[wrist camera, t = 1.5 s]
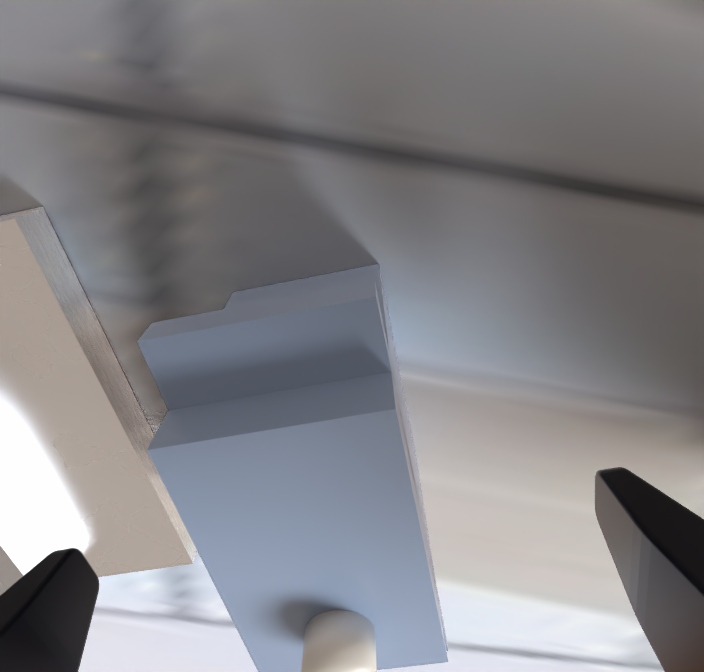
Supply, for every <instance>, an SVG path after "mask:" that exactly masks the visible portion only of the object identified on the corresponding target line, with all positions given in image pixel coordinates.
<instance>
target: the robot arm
mask: <svg viewBox="0 0 704 672" xmlns="http://www.w3.org/2000/svg"><path fill="white" fill-rule="evenodd" d="M595 512H596V516H597V520H598V522H599V525H600V528H601V530H602V533H603V535H604V538H605V540H606V543H607V545H608V548H609V550H610V553H611V555H612V558H613V560H614V563H615V565H616V568H617V570H618V573H619V575H620V578H621V580H622V583H623V585H624V588H625V590H626V593H627V595H628V598H629V600H630V603H631V605H632V608H633V610H634V612H635V615H636V617H637V619H638V621H639V623H640V625H641V627H642V629H643V631H644V633H645V635H646V637H647V639H648V641H649V642H650V644H651V646H652V648H653V650H654V652H655V654H656V656H657V658H658V660H659V661H660V663H661V665H662V667H663V669H664V671H665V672H704V519H702V518H701V517H699V516H698V515H696V514H695V513H693V512H692V511H690V510H689V509H687V508H686V507H684V506H682V505H681V504H679V503H678V502H676V501H675V500H673V499H672V498H670V497H669V496H667V495H666V494H664V493H663V492H661V491H660V490H658V489H656V488H655V487H653V486H652V485H650V484H649V483H647V482H646V481H644V480H643V479H641V478H640V477H638V476H637V475H635V474H634V473H632V472H631V471H629V470H627V469H625V468H622V467H618V468H611V469H604V470H600V471H598V472H597V473H596V476H595ZM98 591H99V580H98V576H97V574H96V573H95V571H94V570H93V568H92V567H91V565H90V564H89V562H88V561H87V559H86V558H85V556H84V555H83V553H82V552H81V551H80V550H79V549H77V548H68V549H61V550H56V551H53V552H51V553H50V554H49V555H47V556H46V557H45V558H44V559H43V560H41V561H40V562H39V563H38V564H37V565H36V566H34V567H33V568H32V569H31V570H30V571H28V572H27V573H26V574H25V575H24V576H23V577H21V578H20V579H19V580H18V581H17V582H16V583H14V584H13V585H12V586H11V587H10V588H8V589H7V590H6V591H5V592H4V593H3V594H1V595H0V672H78V670H79V666H80V662H81V658H82V654H83V650H84V646H85V643H86V639H87V635H88V631H89V627H90V623H91V619H92V615H93V611H94V607H95V603H96V599H97V595H98Z"/></svg>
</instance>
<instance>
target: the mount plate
mask: <svg viewBox="0 0 704 672" xmlns="http://www.w3.org/2000/svg"><path fill="white" fill-rule="evenodd" d="M153 438H154V434H153V432H152V430H151V428H150V426H149V424H148V422H147V420H146V418H145V416H144V414H143V412H142V409H141V407H140V405H139V403H138V401H137V399H136V397H135V395H134V393H133V391H132V389H131V387H130V385H129V383H128V381H127V379H126V377H125V375H124V373H123V370H122V368H121V366H120V364H119V362H118V360H117V358H116V356H115V354H114V352H113V350H112V348H111V346H110V344H109V342H108V340H107V338H106V336H105V333H104V331H103V329H102V327H101V325H100V323H99V321H98V319H97V317H96V315H95V313H94V311H93V309H92V307H91V305H90V303H89V301H88V299H87V296H86V294H85V292H84V290H83V288H82V286H81V284H80V282H79V280H78V278H77V276H76V274H75V272H74V270H73V268H72V266H71V264H70V262H69V260H68V257H67V255H66V253H65V251H64V249H63V247H62V245H61V243H60V241H59V239H58V237H57V235H56V233H55V231H54V229H53V227H52V225H51V223H50V220H49V218H48V216H47V214H46V212H45V210H44V208H43V206H42V207H38V208H33V209H29V210H24V211H20V212H15V213H11V214H6V215H2V216H0V595H1V594H3V593H4V592H5V591H6V590H7V589H8V588H10V587H11V586H12V585H13V584H14V583H16V582H17V581H18V580H19V579H20V578H21V577H23V576H24V575H25V574H26V573H27V572H28V571H30V570H31V569H32V568H33V567H34V566H36V565H37V564H38V563H39V562H40V561H41V560H43V559H44V558H45V557H46V556H47V555H49V554H50V553H51V552H53V551H56V550H61V549H68V548H77V549H79V550H80V551H81V552H82V553H83V555H84V556H85V558H86V559H87V561H88V562H89V564H90V565H91V567H92V568H93V570H94V571H95V573H96V574H97V576H98V577H102V576H109V575H116V574H123V573H130V572H137V571H144V570H151V569H158V568H165V567H172V566H179V565H186V564H193V563H194V559H195V556H196V553H197V549H196V547H195V545H194V543H193V541H192V539H191V537H190V535H189V533H188V531H187V529H186V527H185V525H184V523H183V521H182V519H181V517H180V515H179V513H178V511H177V509H176V507H175V505H174V503H173V501H172V499H171V497H170V495H169V493H168V491H167V489H166V487H165V485H164V483H163V481H162V479H161V477H160V475H159V473H158V471H157V469H156V467H155V465H154V463H153V461H152V459H151V457H150V456H149V454H148V452H147V449H148V447H149V445H150V443H151V442H152V440H153Z"/></svg>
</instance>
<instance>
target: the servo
mask: <svg viewBox="0 0 704 672" xmlns="http://www.w3.org/2000/svg"><path fill="white" fill-rule="evenodd" d="M137 343H138V345H139V348H140V350H141V352H142V354H143V356H144V358H145V361H146V363H147V365H148V367H149V369H150V372H151V374H152V376H153V378H154V380H155V382H156V385H157V387H158V389H159V391H160V393H161V396H162V398H163V400H164V402H165V404H166V406H167V409H168V412H167V414H166V416H165V418H164V419H163V421H162V423H161V425H160V427H159V429H158V431H157V432H156V434H155V436H154V438H153V440H152V442H151V443H150V445H149V447H148V449H147V452H148V454H149V456H150V457H151V459H152V461H153V463H154V465H155V467H156V469H157V471H158V473H159V475H160V477H161V479H162V481H163V483H164V485H165V487H166V489H167V491H168V493H169V495H170V497H171V499H172V501H173V503H174V505H175V507H176V509H177V511H178V513H179V515H180V517H181V519H182V521H183V523H184V525H185V527H186V529H187V531H188V533H189V535H190V537H191V539H192V541H193V543H194V545H195V547H196V549H197V551H198V553H199V555H200V557H201V559H202V561H203V563H204V565H205V567H206V569H207V571H208V573H209V575H210V577H211V579H212V581H213V583H214V585H215V587H216V589H217V591H218V593H219V595H220V596H221V598H222V600H223V602H224V604H225V606H226V608H227V610H228V612H229V614H230V616H231V618H232V620H233V622H234V624H235V626H236V628H237V630H238V632H239V634H240V636H241V638H242V640H243V642H244V644H245V646H246V648H247V650H248V652H249V654H250V656H251V658H252V660H253V662H254V664H255V666H256V668H257V670H258V672H377V670H381V669H390V668H399V667H408V666H416V665H425V664H434V663H443V662H448V658H447V652H446V651H448V647H447V641H446V634H445V628H444V622H443V617H442V612H441V607H440V602H439V597H438V592H437V587H436V581H435V574H434V568H433V562H432V555H431V549H430V542H429V536H428V529H427V523H426V516H425V510H424V503H423V497H422V491H421V484H420V478H419V471H418V465H417V458H416V453H415V447H414V442H413V437H412V432H411V427H410V422H409V417H408V411H407V406H406V401H405V396H404V391H403V386H402V380H401V375H400V370H399V365H398V360H397V355H396V350H395V344H394V339H393V334H392V329H391V324H390V319H389V314H388V308H387V303H386V298H385V293H384V288H383V283H382V277H381V272H380V267H379V264H374V265H369V266H364V267H359V268H354V269H349V270H344V271H339V272H334V273H329V274H323V275H318V276H313V277H308V278H303V279H298V280H293V281H288V282H283V283H278V284H272V285H267V286H262V287H257V288H252V289H247V290H242V291H237V292H233V293H232V294H231V296H230V298H229V300H228V302H227V304H226V306H225V307H224V309H221V310H216V311H210V312H205V313H200V314H195V315H190V316H184V317H179V318H174V319H169V320H164V321H158V322H153V323H151V325H150V326H149V327H148V328H147V330H146V331H145V332H144V333H143V335H142V336H141V337H140V338H139V340H138V341H137Z"/></svg>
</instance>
